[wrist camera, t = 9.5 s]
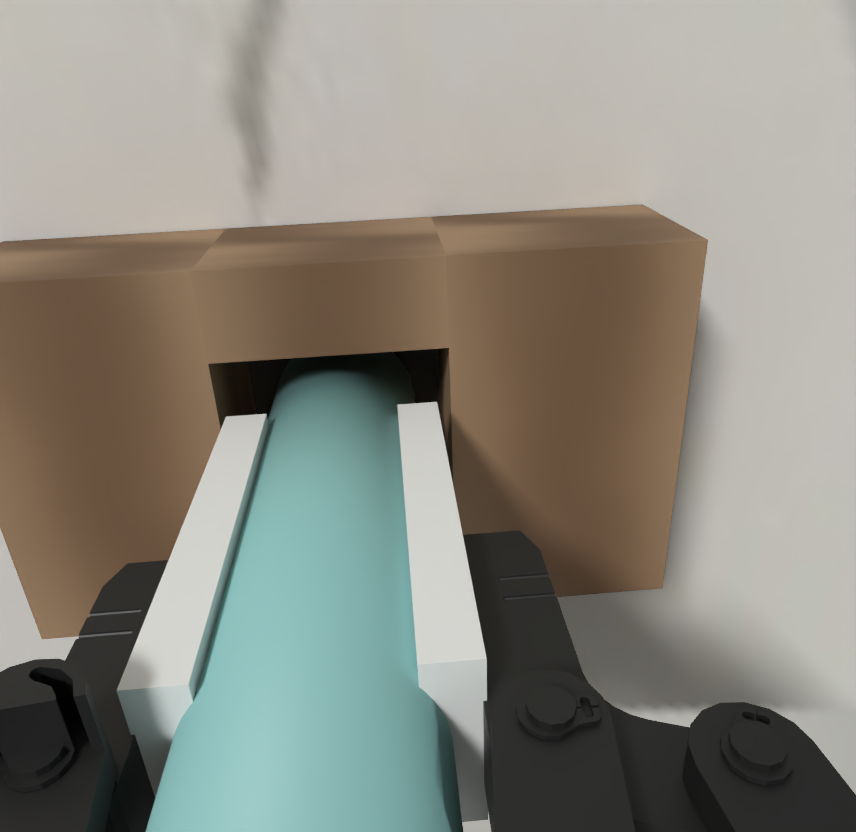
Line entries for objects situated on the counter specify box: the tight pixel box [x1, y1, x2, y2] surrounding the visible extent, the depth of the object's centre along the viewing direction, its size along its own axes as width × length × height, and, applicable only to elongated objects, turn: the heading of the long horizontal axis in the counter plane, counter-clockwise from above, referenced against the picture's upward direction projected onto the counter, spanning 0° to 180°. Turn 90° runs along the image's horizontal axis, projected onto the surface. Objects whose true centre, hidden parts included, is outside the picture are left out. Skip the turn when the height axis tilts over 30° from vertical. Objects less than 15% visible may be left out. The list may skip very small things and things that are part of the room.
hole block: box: [0, 205, 708, 639], centre depth 16 cm, size 14×8×4 cm, turn 92°
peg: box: [146, 352, 463, 832], centre depth 12 cm, size 3×3×12 cm
